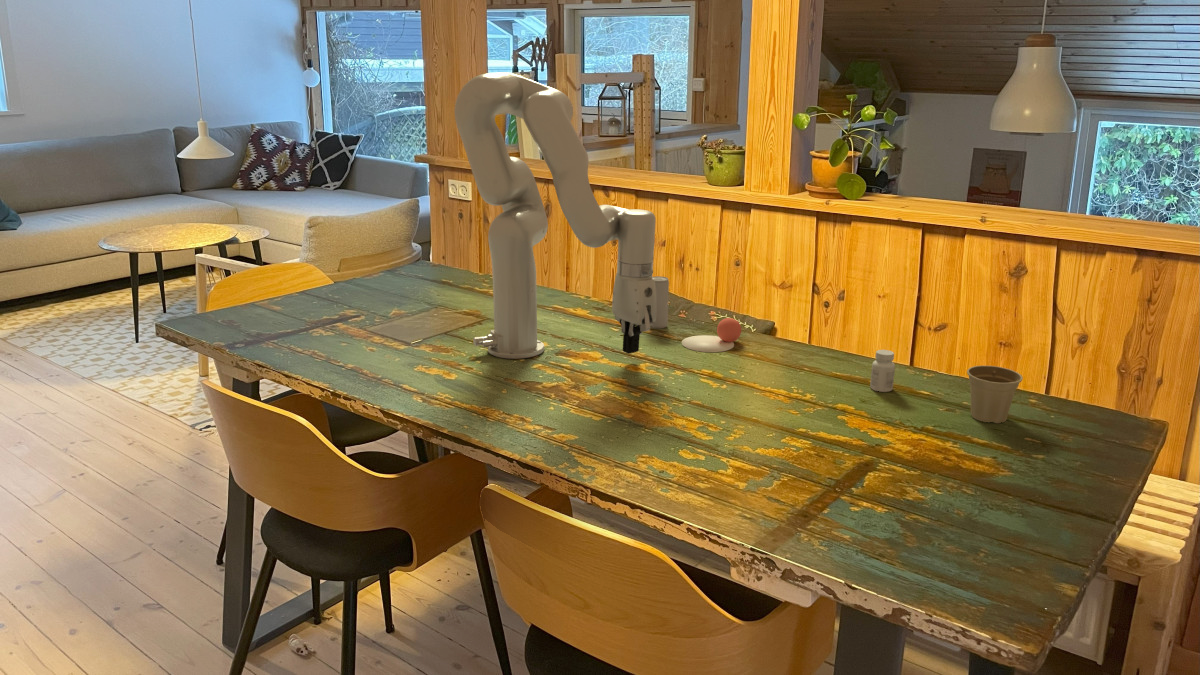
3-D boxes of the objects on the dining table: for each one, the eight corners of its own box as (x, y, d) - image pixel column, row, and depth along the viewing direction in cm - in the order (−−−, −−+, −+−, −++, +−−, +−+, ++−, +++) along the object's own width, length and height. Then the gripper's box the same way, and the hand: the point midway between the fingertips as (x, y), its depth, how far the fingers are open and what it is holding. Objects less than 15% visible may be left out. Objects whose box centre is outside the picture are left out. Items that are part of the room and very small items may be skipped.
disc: (698, 354, 205) (698, 354, 205) (672, 339, 216) (672, 339, 216) (744, 348, 210) (744, 347, 210) (716, 333, 220) (716, 332, 220)
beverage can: (668, 329, 224) (669, 281, 220) (648, 329, 224) (649, 280, 220) (667, 323, 228) (668, 276, 225) (647, 323, 228) (648, 276, 225)
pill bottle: (893, 386, 187) (897, 350, 185) (892, 393, 183) (896, 356, 181) (870, 383, 189) (874, 347, 186) (869, 391, 185) (872, 354, 182)
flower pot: (1011, 431, 166) (1018, 386, 163) (956, 420, 170) (962, 376, 168) (1019, 414, 173) (1026, 371, 171) (967, 404, 178) (972, 362, 175)
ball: (749, 333, 215) (733, 350, 213) (731, 325, 218) (716, 341, 217) (742, 318, 211) (726, 335, 209) (724, 309, 215) (708, 326, 213)
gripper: (671, 274, 191) (666, 358, 197) (626, 259, 202) (623, 339, 208) (643, 279, 187) (638, 364, 192) (599, 263, 198) (596, 344, 204)
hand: (630, 351), depth 200 cm, fingers closed
